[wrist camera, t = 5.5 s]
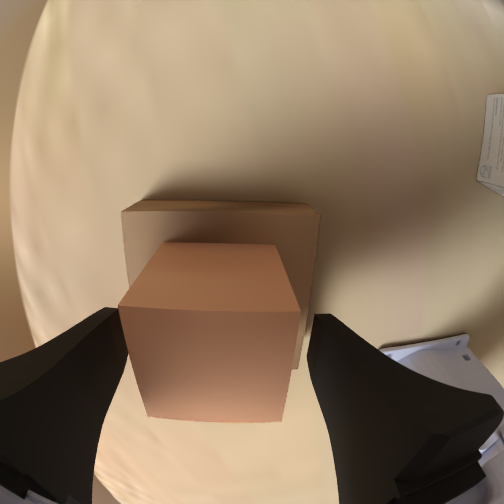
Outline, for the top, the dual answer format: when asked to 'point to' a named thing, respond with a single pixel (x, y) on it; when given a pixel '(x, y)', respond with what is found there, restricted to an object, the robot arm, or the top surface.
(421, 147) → the top surface
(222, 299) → the block
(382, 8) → the top surface
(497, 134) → the light bulb box
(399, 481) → the robot arm
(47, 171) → the top surface
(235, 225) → the plinth
